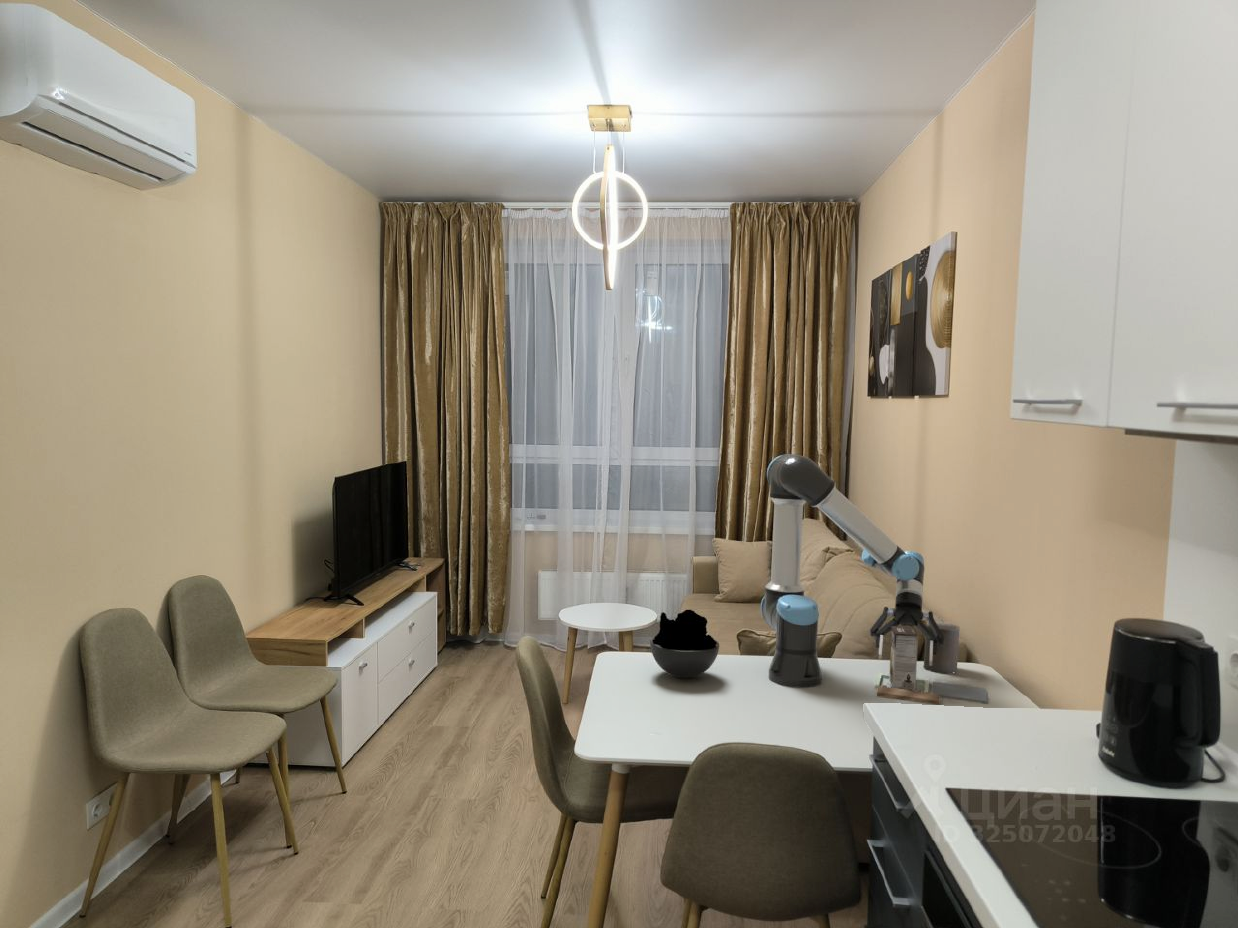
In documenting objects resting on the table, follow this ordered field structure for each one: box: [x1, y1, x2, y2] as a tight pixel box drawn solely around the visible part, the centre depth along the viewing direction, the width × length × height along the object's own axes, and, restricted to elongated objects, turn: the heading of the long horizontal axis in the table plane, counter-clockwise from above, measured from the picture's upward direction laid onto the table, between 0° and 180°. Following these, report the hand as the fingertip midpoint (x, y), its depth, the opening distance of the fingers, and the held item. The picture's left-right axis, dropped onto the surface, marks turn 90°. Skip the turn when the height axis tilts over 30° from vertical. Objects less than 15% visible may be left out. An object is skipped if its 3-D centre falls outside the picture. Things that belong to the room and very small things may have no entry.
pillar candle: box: [923, 620, 961, 674], centre depth 247 cm, size 10×10×15 cm
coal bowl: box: [649, 609, 720, 679], centre depth 232 cm, size 20×20×19 cm
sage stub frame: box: [874, 672, 930, 693], centre depth 230 cm, size 14×12×1 cm
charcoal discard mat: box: [931, 681, 989, 704], centre depth 224 cm, size 14×12×1 cm
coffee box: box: [889, 626, 919, 691], centre depth 229 cm, size 9×6×16 cm
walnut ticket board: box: [876, 685, 941, 706], centre depth 220 cm, size 16×6×1 cm, turn 68°
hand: (905, 660), depth 228 cm, fingers open, 13 cm apart
